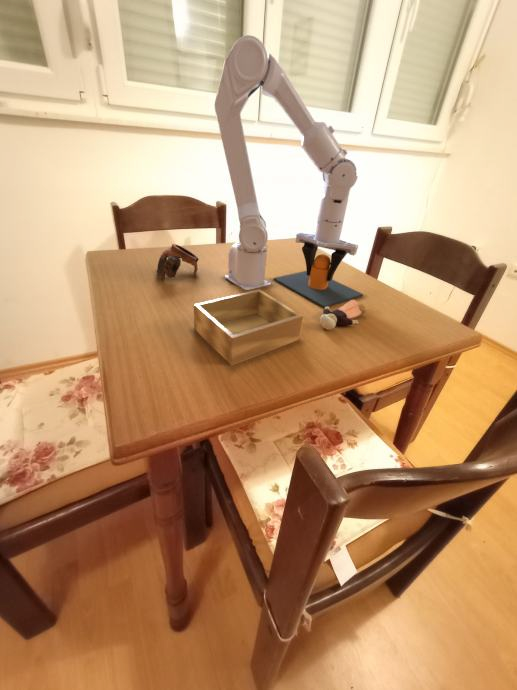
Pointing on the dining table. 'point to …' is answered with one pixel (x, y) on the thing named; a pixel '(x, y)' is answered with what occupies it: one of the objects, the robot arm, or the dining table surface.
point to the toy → (319, 272)
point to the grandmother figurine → (342, 315)
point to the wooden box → (246, 324)
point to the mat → (324, 297)
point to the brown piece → (175, 261)
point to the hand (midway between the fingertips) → (319, 276)
